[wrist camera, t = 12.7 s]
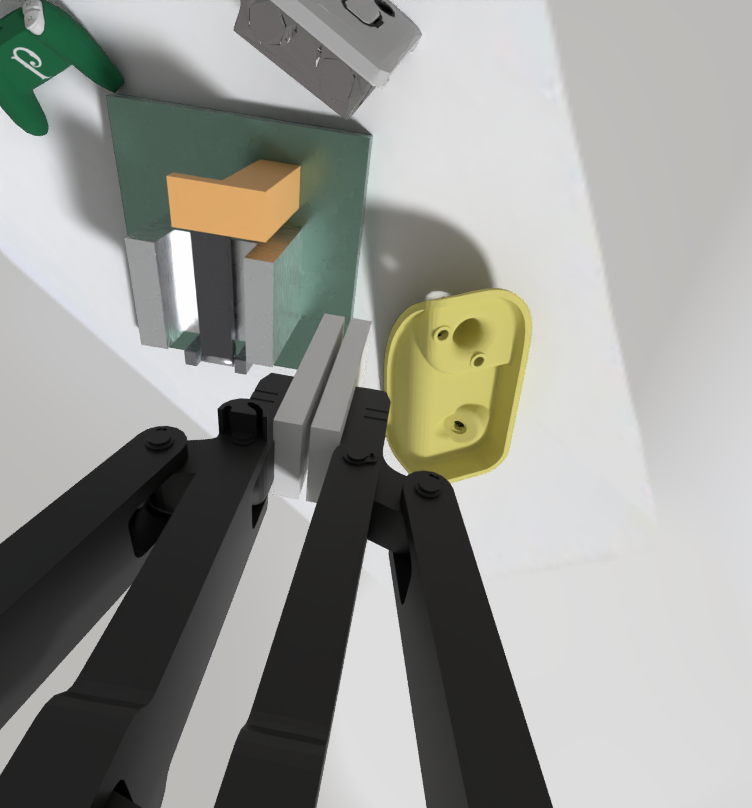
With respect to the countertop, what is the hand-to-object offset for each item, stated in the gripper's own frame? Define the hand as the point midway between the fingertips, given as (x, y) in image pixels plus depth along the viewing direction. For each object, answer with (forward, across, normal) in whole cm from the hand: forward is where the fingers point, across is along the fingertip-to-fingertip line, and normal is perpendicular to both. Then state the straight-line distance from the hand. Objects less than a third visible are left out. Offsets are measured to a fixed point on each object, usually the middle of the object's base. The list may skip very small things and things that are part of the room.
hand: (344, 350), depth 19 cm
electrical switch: (+25, +5, -10) cm, 27 cm away
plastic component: (+25, -8, +14) cm, 30 cm away
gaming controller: (+25, +26, -5) cm, 36 cm away
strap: (+18, +12, +6) cm, 22 cm away
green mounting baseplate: (+24, +12, +6) cm, 28 cm away
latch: (+23, +10, 0) cm, 25 cm away
